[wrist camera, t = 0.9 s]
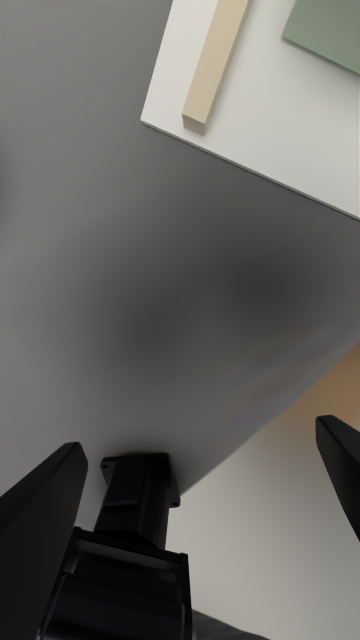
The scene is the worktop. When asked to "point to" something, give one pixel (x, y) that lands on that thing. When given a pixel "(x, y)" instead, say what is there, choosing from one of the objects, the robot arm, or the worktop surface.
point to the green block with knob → (327, 29)
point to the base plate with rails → (258, 98)
